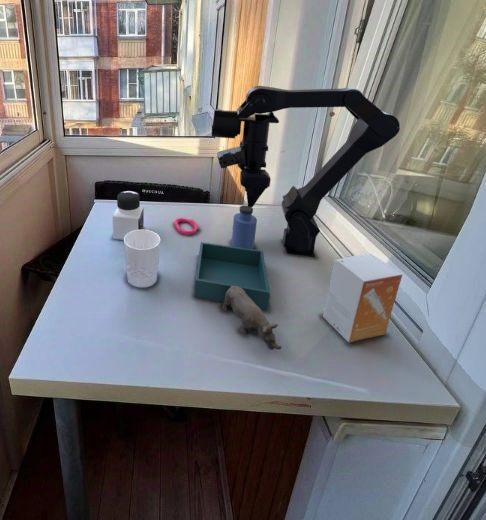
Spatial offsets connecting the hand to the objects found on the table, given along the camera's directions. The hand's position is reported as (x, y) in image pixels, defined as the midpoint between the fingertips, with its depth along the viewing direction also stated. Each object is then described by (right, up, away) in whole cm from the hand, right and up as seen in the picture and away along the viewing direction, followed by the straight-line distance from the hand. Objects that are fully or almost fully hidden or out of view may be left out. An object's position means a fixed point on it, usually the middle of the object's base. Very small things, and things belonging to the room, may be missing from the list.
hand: (248, 198), depth 84 cm
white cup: (-27, -16, -10) cm, 33 cm away
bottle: (-1, -12, +2) cm, 13 cm away
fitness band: (-14, -10, +10) cm, 20 cm away
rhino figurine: (-8, -21, -24) cm, 33 cm away
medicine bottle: (-31, -11, +8) cm, 33 cm away
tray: (-8, -17, -11) cm, 22 cm away
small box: (+11, -20, -23) cm, 33 cm away
